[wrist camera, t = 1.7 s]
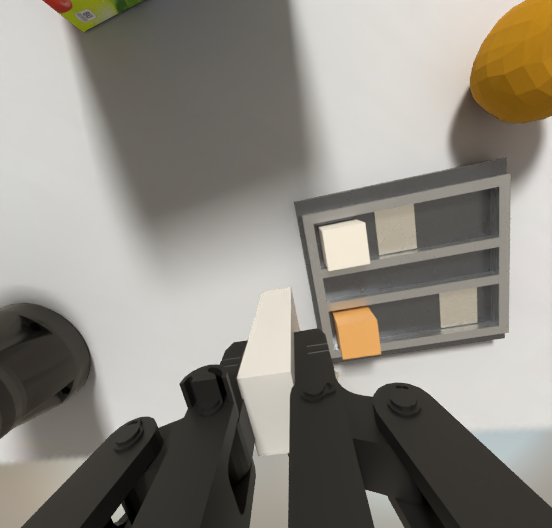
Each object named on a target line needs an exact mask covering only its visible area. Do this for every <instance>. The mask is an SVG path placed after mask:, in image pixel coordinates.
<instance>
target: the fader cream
mask: <svg viewBox="0 0 552 528" xmlns="http://www.w3.org/2000/svg"><path fill="white" fill-rule="evenodd" d="M318 229H319V235H320V241H321V247H322V253H323V259H324V263H325V265H326V267H327V269H328V271H333V270H338V269H344V268H349V267H355V266H361V265H366V264H370V257H369V249H368V241H367V232H366V224H365V222H363V221H360V220H357V219H354V220H349V221H344V222H339V223H334V224H329V225H324V226H319V227H318Z"/></svg>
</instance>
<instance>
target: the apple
mask: <svg viewBox="0 0 552 528" xmlns="http://www.w3.org/2000/svg"><path fill="white" fill-rule="evenodd" d="M470 90H471V93H472V96H473V99H474V100H475V101H476V102H477V103H478V104H479V105H480V106H481V107H482V108H483V109H484V110H485V111H487V112H488V113H490V114H491V115H493V116H495V117H496V118H498V119H500V120H501V121H503V122H509V123H527V122H532V121H536V120H541V119H545V118H547V117H550V116H552V0H525V1H524V2H522V3H520V4H519V5H517V6H515V7H513V8H512V9H511V10H510V11H509V12H507V13H506V14H505V15H504V16H503V17H502V18H501V19H500V20H499V21H498V22H497V23H496V25H495V26H494V27H493V29H492V30H491V32H490V33H489V34H488V36H487V37H486V39H485V40H484V42H483V43H482V45H481V47H480V50H479V52H478V54H477V56H476V59H475V61H474V63H473V67H472V72H471V76H470Z"/></svg>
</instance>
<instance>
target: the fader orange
mask: <svg viewBox="0 0 552 528" xmlns="http://www.w3.org/2000/svg"><path fill="white" fill-rule="evenodd" d="M332 313H333V319H334V325H335V331H336V337H337V342H338V345H339V348H340V352H341V355H342V358H343V360H344V359H351V358H358V357H365V356H372V355H379V354H381V347H380V339H379V331H378V323H377V319H376V318H375V316H374V315H373V313H372V312H371V310H370V309H369V308H368V306H363V307H357V308H351V309H345V310H338V311H332Z"/></svg>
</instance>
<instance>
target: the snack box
mask: <svg viewBox="0 0 552 528" xmlns="http://www.w3.org/2000/svg"><path fill="white" fill-rule="evenodd" d="M43 1H44V2H45V3H47V4H48V5H49V6H50V7H52V8H53V9H54V10H55V11H57V12H58V13H59V14H61V15H62V16H63V17H64V18H66V19H67V20H68V21H69V22H71V23H72V24H73V25H75V26H76V27H77V28H79V29H80V30H81V31H82V32H85V31H86V30H88V29H90V28H92V27H94V26H96V25H98V24H99V23H101V22H103V21H105V20H107V19H109V18H111V17H113V16H115V15H117V14H118V13H120V12H122V11H124V10H126V9H128V8H130V7H132V6H134V5H136V4H138V3H139V2H141V1H143V0H43Z"/></svg>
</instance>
